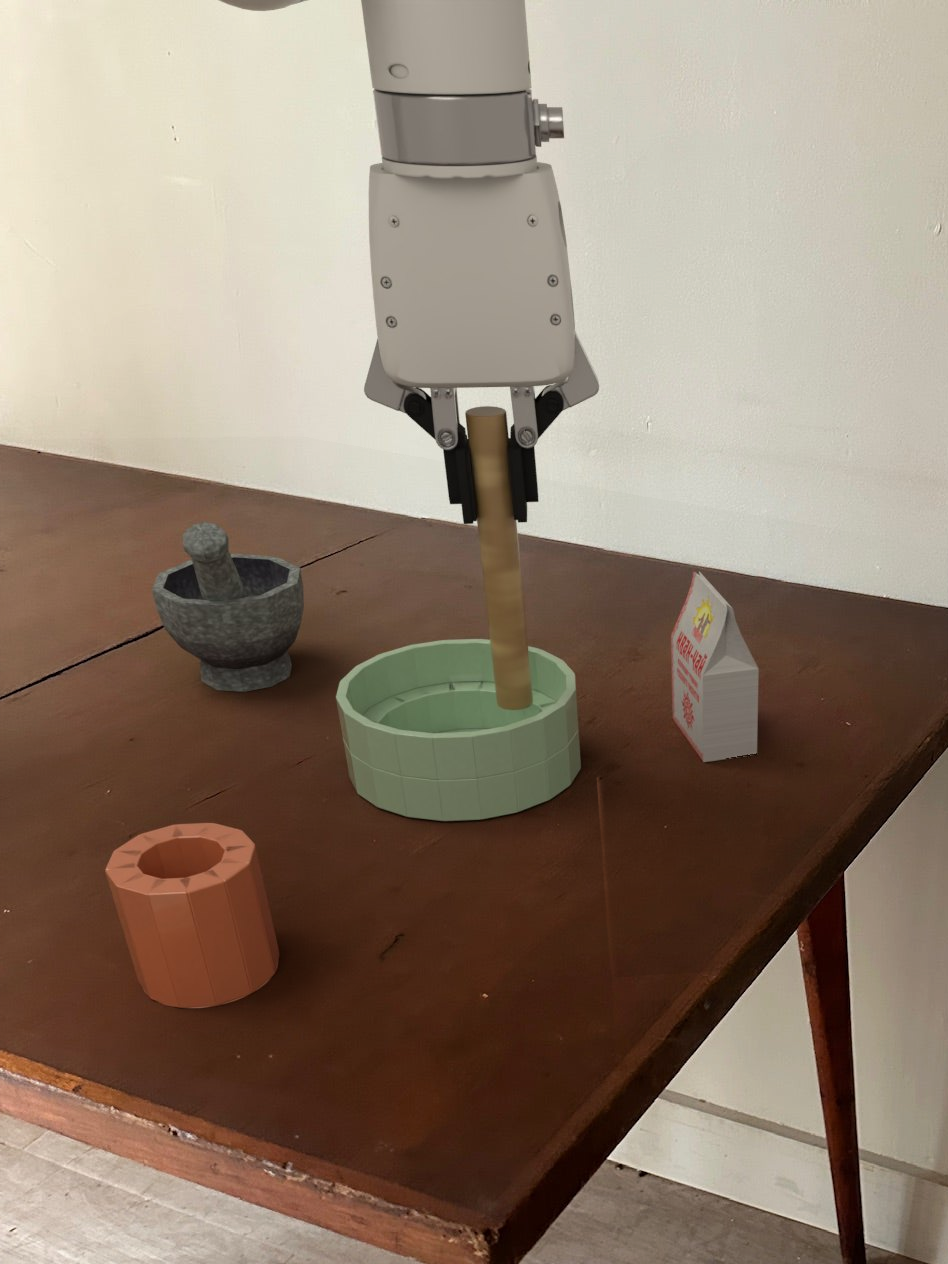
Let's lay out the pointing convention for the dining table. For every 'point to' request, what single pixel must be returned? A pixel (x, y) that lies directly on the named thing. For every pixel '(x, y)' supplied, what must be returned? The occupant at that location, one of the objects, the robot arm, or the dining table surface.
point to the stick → (500, 556)
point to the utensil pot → (194, 914)
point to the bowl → (456, 732)
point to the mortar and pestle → (231, 611)
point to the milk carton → (713, 677)
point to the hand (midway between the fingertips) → (495, 512)
